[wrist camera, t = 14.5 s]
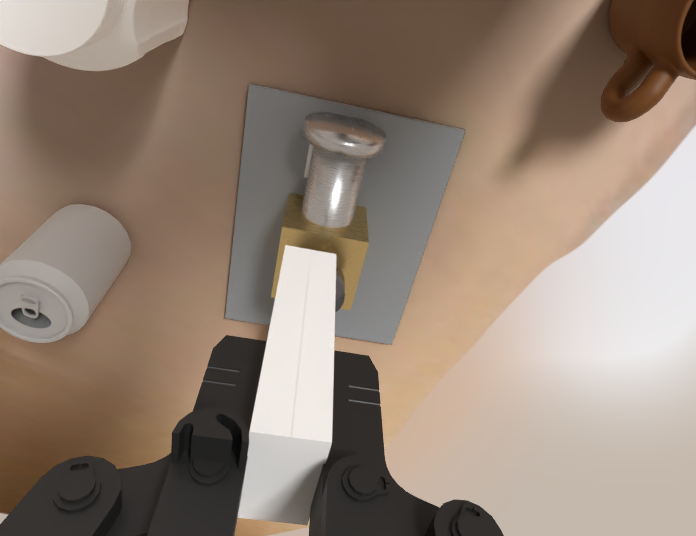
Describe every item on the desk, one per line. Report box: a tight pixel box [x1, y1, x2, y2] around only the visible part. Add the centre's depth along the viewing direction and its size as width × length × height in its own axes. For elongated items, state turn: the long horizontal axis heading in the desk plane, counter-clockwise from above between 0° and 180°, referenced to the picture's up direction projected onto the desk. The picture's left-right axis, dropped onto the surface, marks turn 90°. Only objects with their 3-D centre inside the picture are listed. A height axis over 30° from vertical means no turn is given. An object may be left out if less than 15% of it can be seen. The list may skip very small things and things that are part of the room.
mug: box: [601, 0, 696, 122], centre depth 34 cm, size 12×8×9 cm, turn 143°
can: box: [0, 204, 131, 343], centre depth 43 cm, size 8×8×12 cm
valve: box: [271, 112, 386, 311], centre depth 44 cm, size 22×7×8 cm, turn 168°
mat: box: [225, 83, 465, 345], centre depth 47 cm, size 24×18×1 cm
